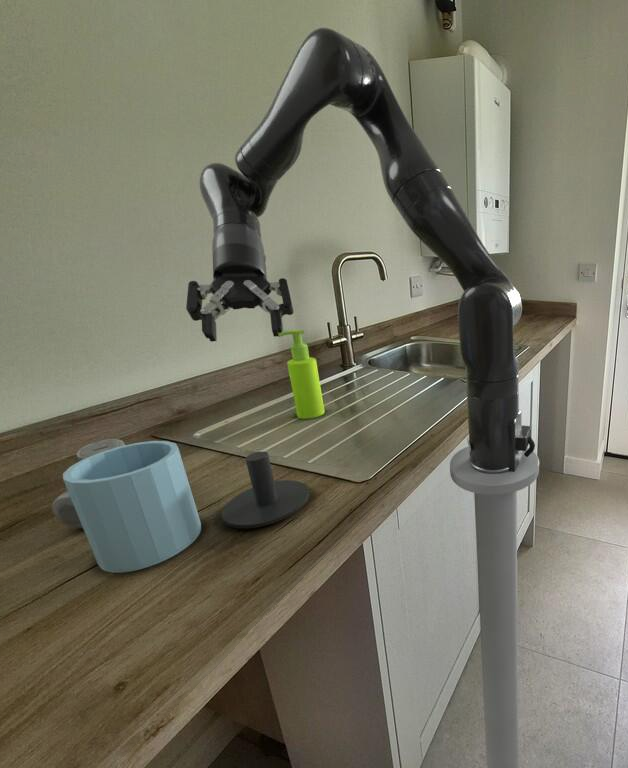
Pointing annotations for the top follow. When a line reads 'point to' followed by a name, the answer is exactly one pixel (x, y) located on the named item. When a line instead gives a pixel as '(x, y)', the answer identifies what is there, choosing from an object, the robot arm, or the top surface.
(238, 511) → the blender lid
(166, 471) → the light blue cup
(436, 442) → the top surface
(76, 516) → the pipe fitting
